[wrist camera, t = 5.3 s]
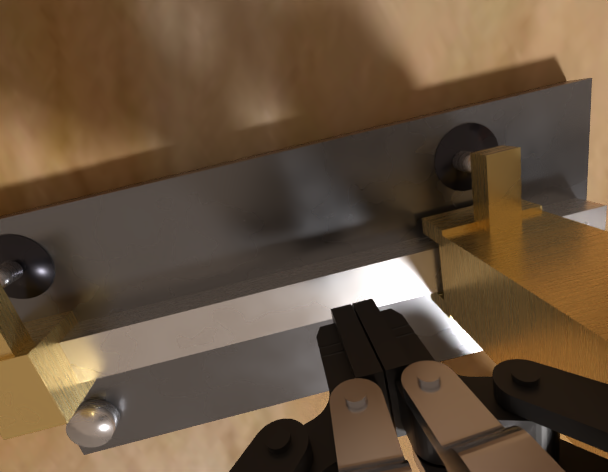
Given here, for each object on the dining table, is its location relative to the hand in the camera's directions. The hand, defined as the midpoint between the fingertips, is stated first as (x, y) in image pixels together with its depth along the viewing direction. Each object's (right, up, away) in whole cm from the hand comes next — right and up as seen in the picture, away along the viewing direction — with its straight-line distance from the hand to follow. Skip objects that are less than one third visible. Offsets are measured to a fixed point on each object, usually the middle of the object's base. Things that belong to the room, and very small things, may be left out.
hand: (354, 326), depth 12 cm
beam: (-2, +2, +3) cm, 4 cm away
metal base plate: (-1, +1, +5) cm, 5 cm away
